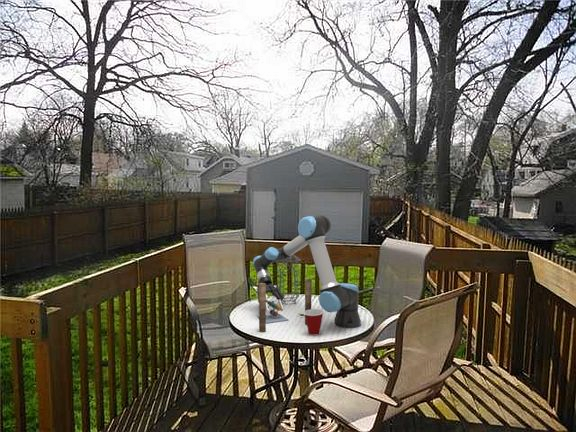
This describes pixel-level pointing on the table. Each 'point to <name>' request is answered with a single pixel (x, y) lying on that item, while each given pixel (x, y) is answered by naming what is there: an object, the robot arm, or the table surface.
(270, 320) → the grey mat
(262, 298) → the post gap
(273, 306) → the binoculars
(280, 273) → the geometric lantern
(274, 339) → the table surface
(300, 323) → the table surface
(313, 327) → the plastic cup
